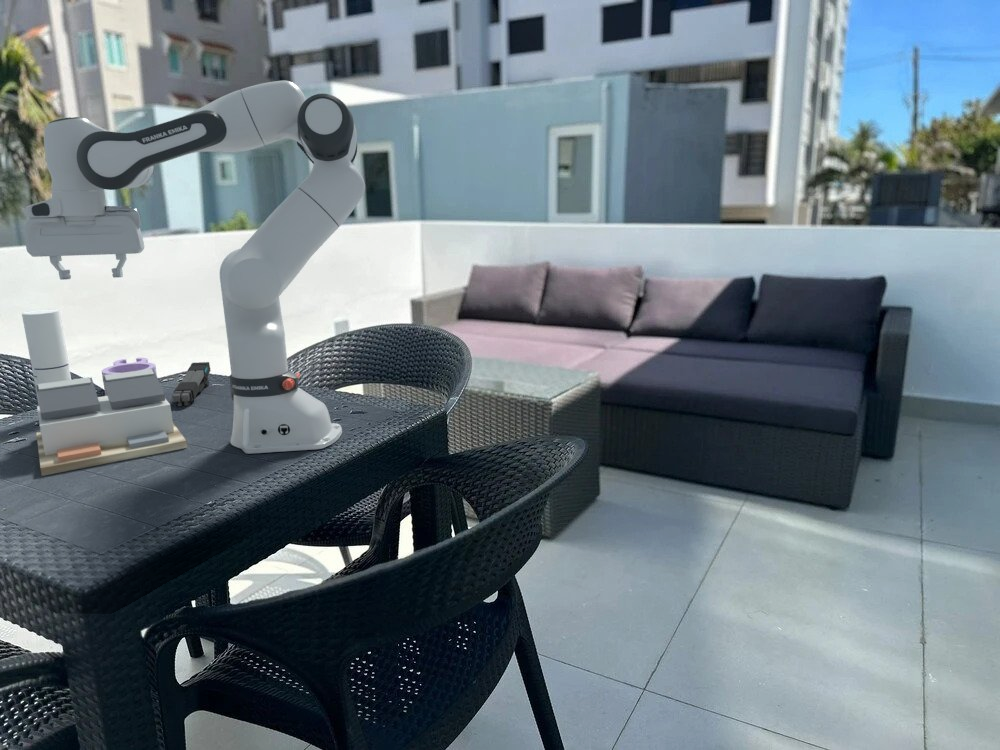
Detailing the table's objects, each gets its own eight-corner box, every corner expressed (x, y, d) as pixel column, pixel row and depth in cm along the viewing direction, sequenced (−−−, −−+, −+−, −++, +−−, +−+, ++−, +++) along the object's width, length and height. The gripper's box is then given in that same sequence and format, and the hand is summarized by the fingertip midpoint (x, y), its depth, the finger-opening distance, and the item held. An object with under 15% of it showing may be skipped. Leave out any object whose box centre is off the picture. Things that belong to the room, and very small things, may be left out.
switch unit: (37, 439, 149) (30, 399, 147) (165, 417, 163) (160, 381, 161) (41, 475, 129) (33, 430, 127) (187, 447, 143) (181, 406, 140)
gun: (215, 383, 192) (207, 352, 186) (198, 428, 175) (189, 395, 170) (197, 383, 191) (189, 352, 186) (179, 429, 175) (170, 396, 169)
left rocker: (37, 391, 144) (35, 383, 144) (92, 384, 150) (91, 376, 149) (41, 420, 136) (40, 411, 135) (100, 410, 141) (99, 402, 140)
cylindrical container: (60, 424, 159) (41, 314, 153) (34, 422, 161) (13, 314, 155) (84, 414, 166) (67, 309, 160) (58, 413, 167) (40, 309, 161)
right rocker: (103, 382, 151) (102, 374, 150) (154, 375, 156) (153, 367, 156) (111, 409, 142) (110, 400, 142) (165, 400, 148) (164, 392, 147)
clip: (109, 385, 193) (105, 360, 191) (159, 379, 198) (156, 355, 196) (103, 404, 175) (99, 377, 174) (158, 397, 180) (154, 371, 178)
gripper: (142, 205, 141) (152, 274, 145) (28, 207, 137) (41, 278, 140) (134, 205, 136) (145, 277, 139) (15, 208, 131) (28, 282, 134)
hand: (92, 278), depth 140 cm, fingers open, 8 cm apart
